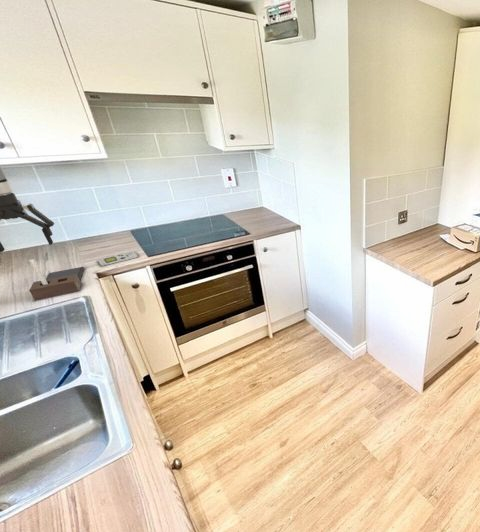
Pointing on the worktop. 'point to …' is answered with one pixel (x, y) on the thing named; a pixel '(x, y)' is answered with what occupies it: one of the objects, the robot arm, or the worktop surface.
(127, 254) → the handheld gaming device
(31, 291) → the slotted brown block
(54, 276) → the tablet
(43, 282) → the stylus
